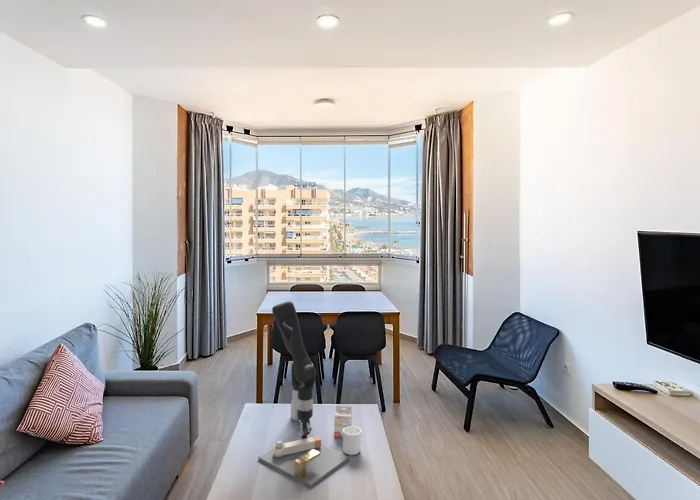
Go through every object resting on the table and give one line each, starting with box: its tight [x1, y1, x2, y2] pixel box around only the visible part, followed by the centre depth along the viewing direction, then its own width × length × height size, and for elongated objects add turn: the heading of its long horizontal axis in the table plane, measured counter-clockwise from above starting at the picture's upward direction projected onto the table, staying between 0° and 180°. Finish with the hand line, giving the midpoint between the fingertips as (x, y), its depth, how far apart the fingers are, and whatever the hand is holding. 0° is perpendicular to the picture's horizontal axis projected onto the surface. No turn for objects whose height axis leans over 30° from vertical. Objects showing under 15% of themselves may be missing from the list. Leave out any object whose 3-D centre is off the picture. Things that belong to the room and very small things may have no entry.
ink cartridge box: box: [333, 405, 353, 439], centre depth 211 cm, size 9×5×15 cm, turn 84°
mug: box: [342, 425, 362, 456], centre depth 197 cm, size 11×9×10 cm
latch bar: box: [272, 435, 322, 457], centre depth 193 cm, size 23×6×6 cm, turn 116°
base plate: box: [258, 434, 350, 489], centre depth 188 cm, size 32×26×2 cm
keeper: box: [295, 449, 320, 479], centre depth 177 cm, size 4×12×8 cm, turn 143°
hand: (304, 441), depth 199 cm, fingers closed
